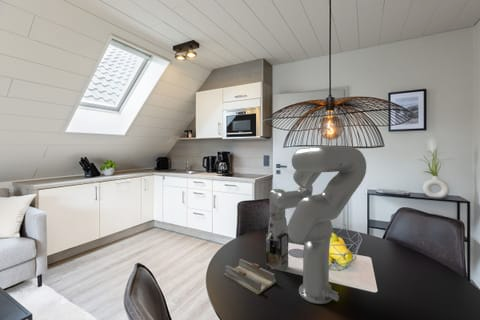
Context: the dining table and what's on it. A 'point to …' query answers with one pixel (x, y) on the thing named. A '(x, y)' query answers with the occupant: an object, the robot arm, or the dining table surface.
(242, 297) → the dining table surface
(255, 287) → the rail
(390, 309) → the dining table surface
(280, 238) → the coffee box
